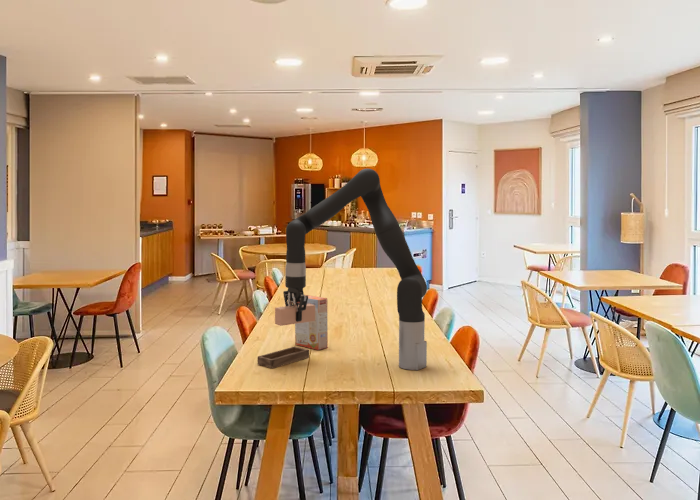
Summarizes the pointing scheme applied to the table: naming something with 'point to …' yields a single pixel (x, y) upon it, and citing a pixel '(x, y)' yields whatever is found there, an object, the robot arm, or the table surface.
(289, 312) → the clay strip
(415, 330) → the robot arm
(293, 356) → the tray
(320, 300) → the cracker box
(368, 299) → the table surface
